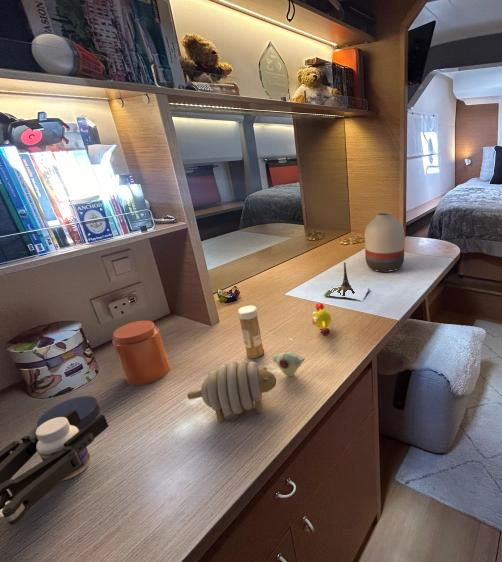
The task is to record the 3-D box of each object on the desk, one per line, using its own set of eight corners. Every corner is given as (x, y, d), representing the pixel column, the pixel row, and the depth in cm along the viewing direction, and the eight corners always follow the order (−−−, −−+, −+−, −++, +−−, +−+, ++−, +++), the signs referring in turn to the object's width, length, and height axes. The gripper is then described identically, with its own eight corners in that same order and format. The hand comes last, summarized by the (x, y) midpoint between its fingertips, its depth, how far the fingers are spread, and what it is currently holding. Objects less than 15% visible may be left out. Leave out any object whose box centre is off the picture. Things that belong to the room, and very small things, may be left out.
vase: (395, 276, 139) (395, 219, 130) (358, 271, 146) (356, 216, 136) (409, 264, 153) (410, 211, 144) (375, 259, 160) (374, 208, 150)
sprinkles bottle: (265, 355, 89) (257, 310, 84) (247, 360, 88) (238, 314, 82) (262, 347, 93) (255, 303, 88) (245, 351, 91) (236, 307, 86)
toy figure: (310, 318, 108) (308, 299, 105) (328, 316, 109) (326, 297, 106) (316, 349, 92) (314, 327, 89) (336, 346, 93) (334, 324, 90)
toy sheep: (282, 415, 70) (275, 370, 66) (192, 441, 64) (177, 395, 60) (276, 383, 79) (269, 343, 75) (196, 404, 73) (183, 362, 69)
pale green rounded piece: (308, 372, 83) (305, 349, 80) (301, 383, 79) (298, 359, 76) (278, 368, 84) (274, 345, 82) (270, 379, 81) (266, 355, 78)
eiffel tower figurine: (370, 289, 127) (369, 256, 122) (362, 301, 118) (361, 265, 113) (333, 286, 131) (331, 253, 126) (323, 297, 122) (319, 262, 117)
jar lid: (108, 413, 71) (105, 406, 71) (51, 445, 64) (47, 438, 63) (88, 397, 76) (85, 390, 75) (33, 425, 69) (29, 418, 68)
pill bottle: (46, 486, 56) (21, 443, 52) (59, 460, 61) (37, 419, 57) (85, 475, 58) (65, 432, 54) (96, 450, 63) (77, 409, 59)
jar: (117, 383, 80) (99, 337, 76) (148, 360, 89) (133, 317, 84) (150, 387, 79) (134, 341, 74) (178, 363, 87) (165, 320, 82)
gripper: (-127, 563, 44) (58, 426, 65) (-20, 596, 41) (139, 440, 62) (-164, 526, 41) (42, 395, 62) (-52, 558, 38) (126, 408, 59)
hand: (90, 418), depth 62 cm, fingers closed on pill bottle, 5 cm apart
